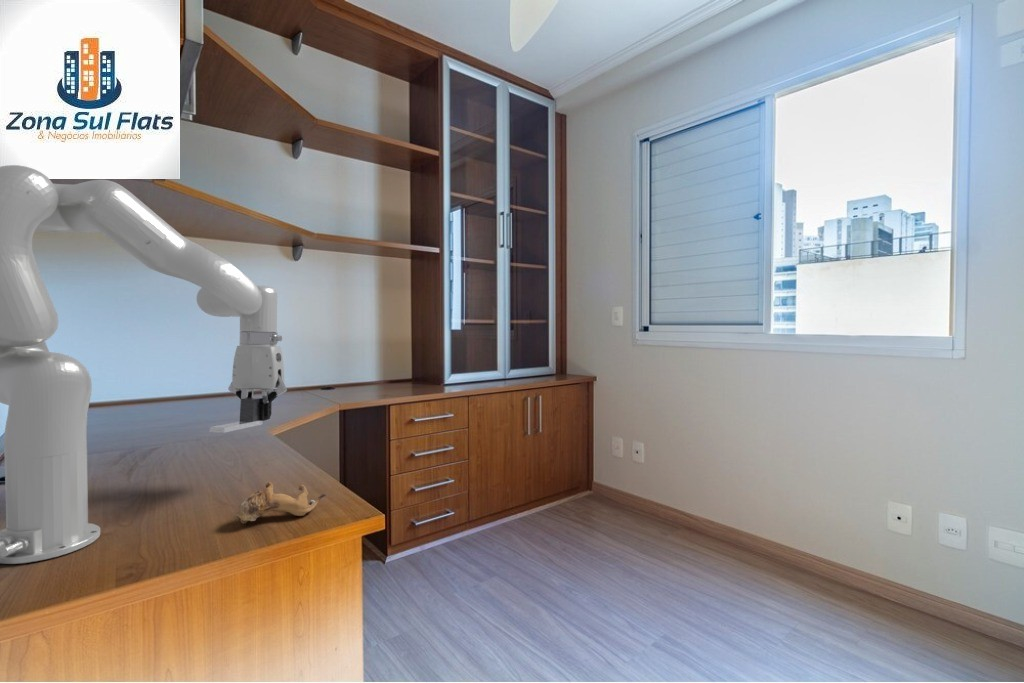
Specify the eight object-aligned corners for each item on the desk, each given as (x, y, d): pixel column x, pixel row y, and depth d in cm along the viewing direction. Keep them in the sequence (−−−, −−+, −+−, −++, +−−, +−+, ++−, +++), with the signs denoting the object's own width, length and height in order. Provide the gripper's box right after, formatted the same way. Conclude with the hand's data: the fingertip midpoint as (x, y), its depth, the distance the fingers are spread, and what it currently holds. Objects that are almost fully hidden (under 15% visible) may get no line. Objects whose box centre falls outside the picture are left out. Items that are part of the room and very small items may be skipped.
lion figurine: (245, 507, 93) (233, 530, 84) (246, 481, 92) (234, 502, 84) (325, 504, 97) (321, 527, 89) (327, 480, 97) (323, 500, 88)
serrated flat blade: (249, 423, 109) (251, 397, 109) (262, 424, 109) (264, 398, 109) (209, 432, 95) (211, 402, 95) (224, 432, 95) (226, 402, 95)
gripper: (301, 340, 112) (300, 417, 113) (233, 338, 113) (232, 415, 113) (285, 341, 105) (284, 423, 105) (212, 339, 105) (211, 421, 106)
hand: (257, 418), depth 109 cm, fingers closed on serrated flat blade, 3 cm apart
